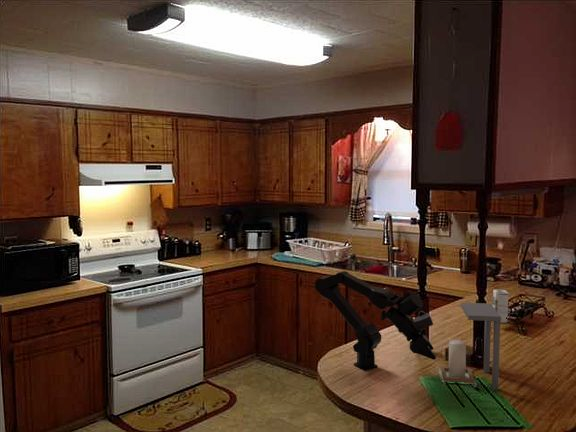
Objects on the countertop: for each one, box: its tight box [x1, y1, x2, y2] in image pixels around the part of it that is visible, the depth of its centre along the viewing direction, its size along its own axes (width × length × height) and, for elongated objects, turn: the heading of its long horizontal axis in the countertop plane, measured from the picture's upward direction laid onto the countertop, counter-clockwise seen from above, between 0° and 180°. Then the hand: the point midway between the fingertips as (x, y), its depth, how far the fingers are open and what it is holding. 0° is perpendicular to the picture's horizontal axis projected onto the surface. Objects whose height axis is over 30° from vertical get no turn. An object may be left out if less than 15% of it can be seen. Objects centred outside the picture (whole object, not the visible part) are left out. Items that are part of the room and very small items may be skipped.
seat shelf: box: [438, 302, 501, 391], centre depth 175 cm, size 18×16×24 cm
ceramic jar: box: [448, 339, 467, 378], centre depth 176 cm, size 6×6×12 cm
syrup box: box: [492, 289, 509, 324], centre depth 240 cm, size 6×6×14 cm
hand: (433, 354), depth 178 cm, fingers open, 9 cm apart
